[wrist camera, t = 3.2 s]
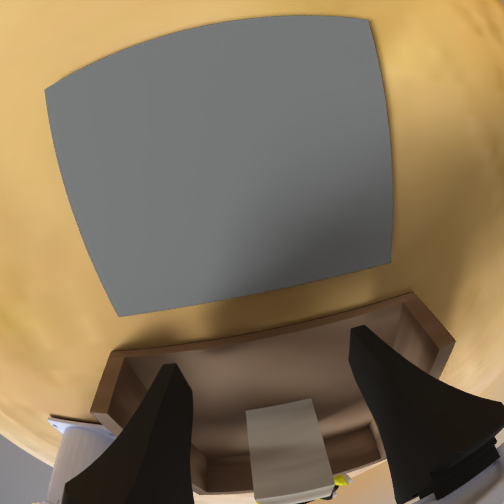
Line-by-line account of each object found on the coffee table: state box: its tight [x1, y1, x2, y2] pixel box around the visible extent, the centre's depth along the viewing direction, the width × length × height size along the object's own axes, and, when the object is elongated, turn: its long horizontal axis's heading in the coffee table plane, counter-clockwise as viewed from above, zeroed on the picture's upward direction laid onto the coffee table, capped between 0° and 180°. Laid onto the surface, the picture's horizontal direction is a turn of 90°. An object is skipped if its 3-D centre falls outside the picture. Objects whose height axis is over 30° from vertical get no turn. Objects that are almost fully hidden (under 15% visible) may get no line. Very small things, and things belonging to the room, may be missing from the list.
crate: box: [90, 292, 456, 495], centre depth 14 cm, size 15×16×4 cm
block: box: [246, 398, 335, 504], centre depth 13 cm, size 4×4×6 cm
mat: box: [45, 16, 393, 317], centre depth 9 cm, size 10×12×1 cm
